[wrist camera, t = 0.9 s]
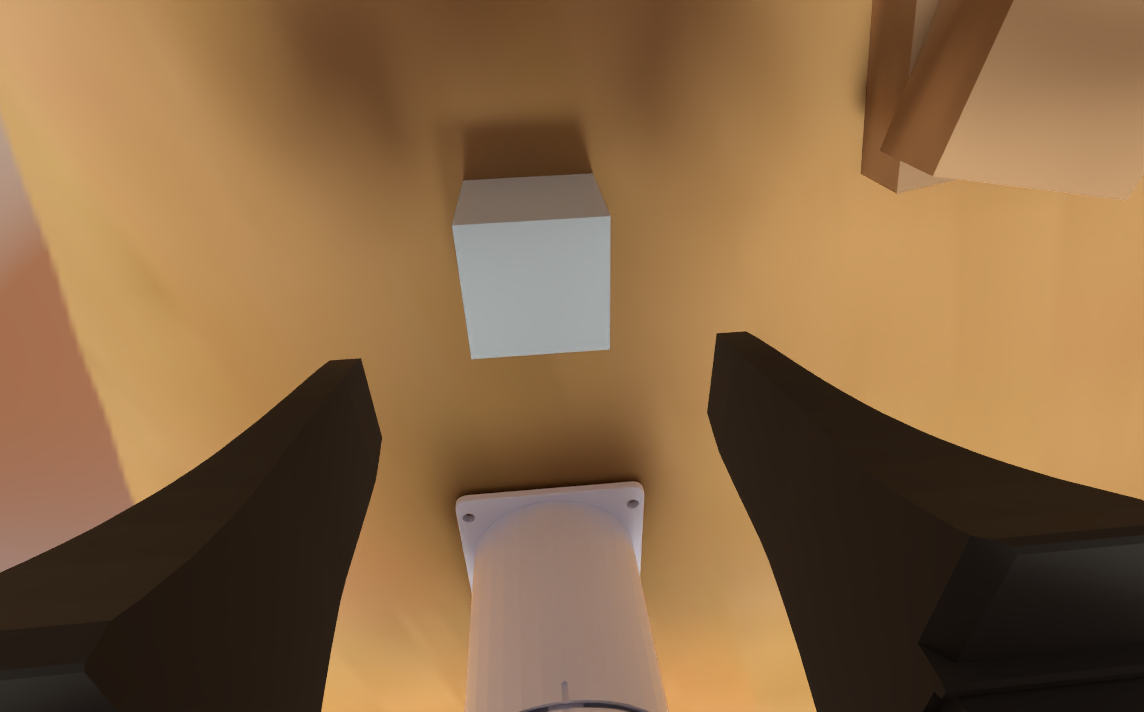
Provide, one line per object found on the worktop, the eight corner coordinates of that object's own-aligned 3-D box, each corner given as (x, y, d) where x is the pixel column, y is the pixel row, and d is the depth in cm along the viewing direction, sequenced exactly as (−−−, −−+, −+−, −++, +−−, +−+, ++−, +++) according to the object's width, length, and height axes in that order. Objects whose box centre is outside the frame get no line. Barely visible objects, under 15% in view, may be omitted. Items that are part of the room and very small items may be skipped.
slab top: (1052, 173, 17) (1126, 200, 15) (879, 150, 17) (932, 176, 14) (1183, -57, 14) (1296, -62, 12) (979, -98, 14) (1064, -111, 12)
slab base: (1038, 128, 19) (1103, 147, 17) (854, 170, 19) (896, 193, 17) (1089, -100, 16) (1177, -112, 14) (868, -47, 16) (921, -51, 14)
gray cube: (593, 288, 21) (609, 349, 17) (478, 296, 20) (471, 359, 17) (592, 172, 18) (610, 216, 15) (463, 179, 18) (451, 225, 15)
